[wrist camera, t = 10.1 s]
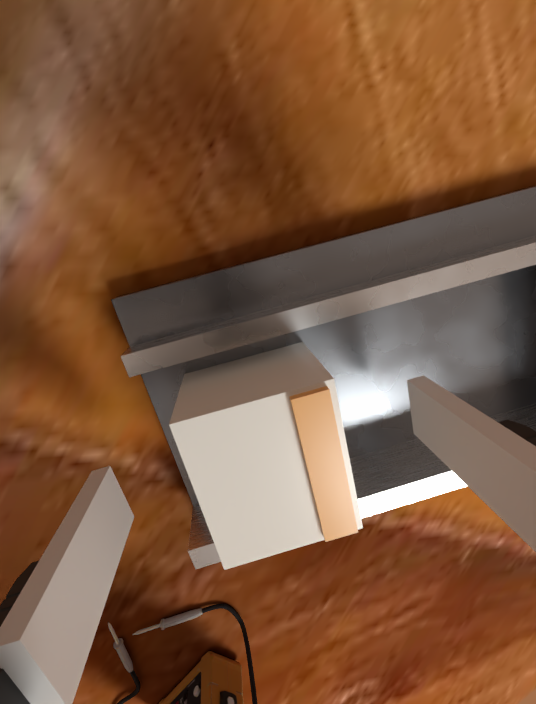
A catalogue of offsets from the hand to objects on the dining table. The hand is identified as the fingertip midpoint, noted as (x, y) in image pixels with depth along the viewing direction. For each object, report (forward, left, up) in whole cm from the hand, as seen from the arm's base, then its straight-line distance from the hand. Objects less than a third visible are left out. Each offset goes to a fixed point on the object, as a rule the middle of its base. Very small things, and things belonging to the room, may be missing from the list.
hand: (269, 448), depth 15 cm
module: (0, 0, -3) cm, 3 cm away
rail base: (0, +6, -4) cm, 7 cm away
